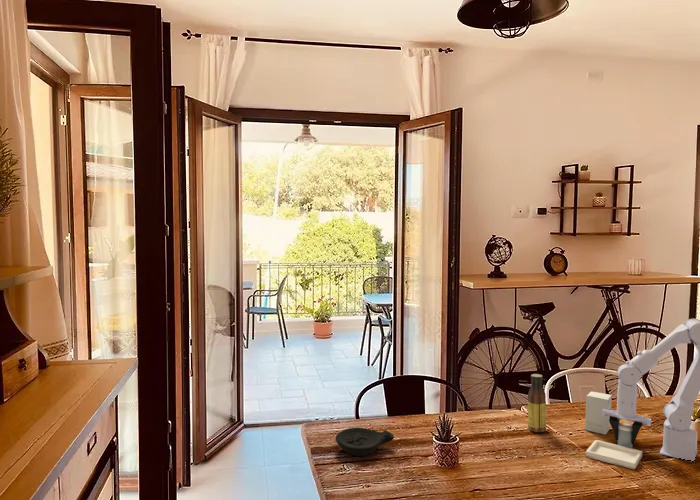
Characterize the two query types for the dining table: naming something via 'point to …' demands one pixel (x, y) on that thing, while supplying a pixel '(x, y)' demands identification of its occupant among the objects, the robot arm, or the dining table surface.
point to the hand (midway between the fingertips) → (625, 441)
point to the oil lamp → (362, 440)
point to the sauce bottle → (536, 405)
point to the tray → (614, 454)
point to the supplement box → (597, 412)
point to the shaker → (625, 435)
